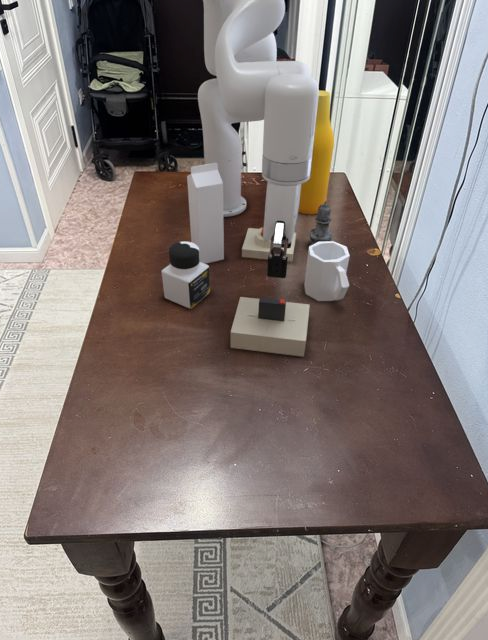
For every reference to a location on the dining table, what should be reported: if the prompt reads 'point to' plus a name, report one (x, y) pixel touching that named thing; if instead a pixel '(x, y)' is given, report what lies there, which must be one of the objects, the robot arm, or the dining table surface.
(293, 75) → the robot arm
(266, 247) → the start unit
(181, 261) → the medicine bottle
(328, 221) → the gray chess piece
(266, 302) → the knob
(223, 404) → the dining table surface
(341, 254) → the mug
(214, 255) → the milk
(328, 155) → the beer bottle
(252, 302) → the beige flat block
